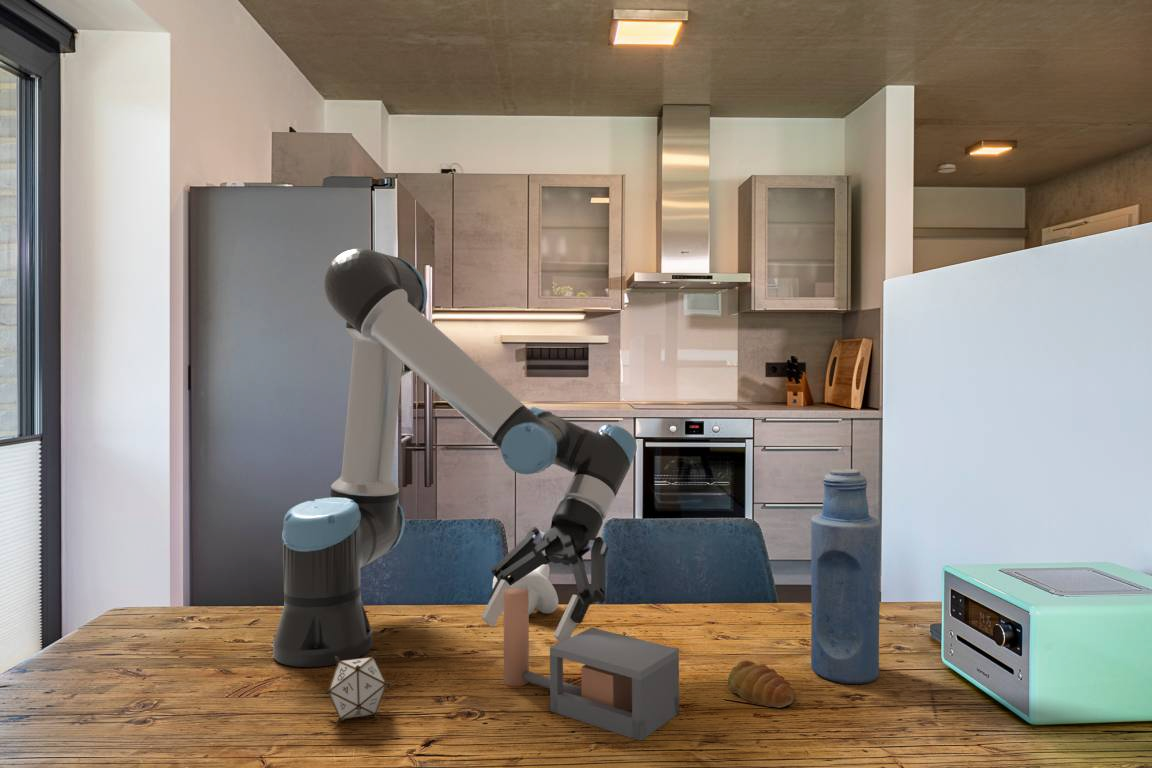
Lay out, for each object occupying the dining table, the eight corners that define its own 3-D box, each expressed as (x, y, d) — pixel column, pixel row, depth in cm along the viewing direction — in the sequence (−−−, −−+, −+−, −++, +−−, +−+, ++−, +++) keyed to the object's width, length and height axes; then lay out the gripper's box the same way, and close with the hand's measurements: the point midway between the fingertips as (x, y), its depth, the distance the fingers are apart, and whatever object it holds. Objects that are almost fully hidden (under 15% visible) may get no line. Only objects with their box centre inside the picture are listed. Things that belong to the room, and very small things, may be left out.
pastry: (807, 703, 107) (807, 675, 107) (772, 716, 103) (772, 687, 103) (755, 680, 114) (755, 654, 114) (721, 691, 111) (721, 664, 111)
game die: (365, 751, 101) (367, 710, 95) (307, 722, 103) (306, 680, 97) (401, 694, 108) (406, 651, 102) (347, 667, 110) (349, 624, 104)
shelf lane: (550, 710, 104) (549, 647, 104) (591, 687, 112) (591, 627, 111) (640, 741, 96) (640, 671, 95) (678, 713, 103) (678, 648, 103)
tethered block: (495, 683, 113) (494, 593, 113) (518, 672, 117) (517, 585, 117) (613, 722, 101) (612, 621, 100) (634, 708, 105) (634, 611, 104)
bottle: (885, 668, 118) (887, 468, 117) (871, 691, 110) (872, 476, 109) (821, 655, 123) (822, 463, 122) (802, 676, 115) (803, 471, 114)
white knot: (503, 601, 152) (502, 555, 151) (565, 603, 150) (564, 556, 150) (488, 620, 140) (488, 570, 140) (555, 623, 139) (554, 573, 139)
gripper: (659, 534, 120) (604, 662, 108) (532, 515, 135) (472, 627, 123) (640, 504, 116) (581, 635, 104) (511, 489, 130) (447, 602, 119)
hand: (522, 631), depth 114 cm, fingers open, 13 cm apart
